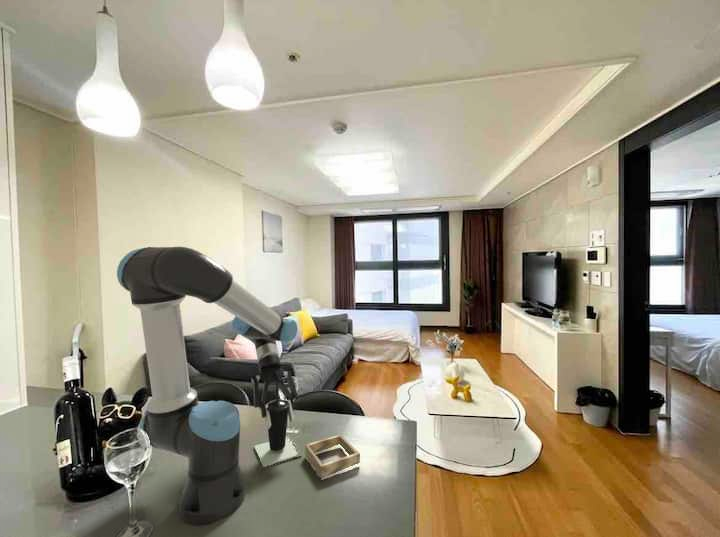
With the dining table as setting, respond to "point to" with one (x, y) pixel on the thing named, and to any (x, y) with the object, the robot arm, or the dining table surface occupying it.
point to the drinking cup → (277, 422)
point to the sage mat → (275, 452)
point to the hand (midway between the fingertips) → (281, 424)
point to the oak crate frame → (337, 464)
